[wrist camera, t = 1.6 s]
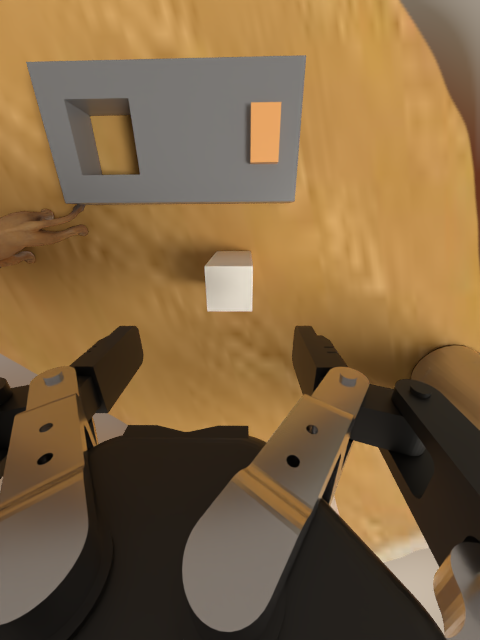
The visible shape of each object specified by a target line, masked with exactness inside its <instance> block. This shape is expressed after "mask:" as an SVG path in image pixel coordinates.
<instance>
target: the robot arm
mask: <svg viewBox="0 0 480 640" xmlns="http://www.w3.org/2000/svg"><path fill="white" fill-rule="evenodd" d="M292 361H293V366H294V369H295V372H296V375H297V378H298V381H299V384H300V387H301V390H302V393H303V396H302V397H301V399H300V400H299V401H298V402H297V404H296V405H295V406H294V408H293V409H292V410H291V412H290V413H289V414H288V416H287V417H286V418H285V419H284V421H283V422H282V423H281V425H280V426H279V427H278V429H277V430H276V431H275V433H274V434H273V435H272V437H271V438H270V439H269V440H268V442H267V443H266V442H264V441H262V440H260V439H257V438H255V437H251V436H248V426H215V427H210V428H205V429H201V430H196V431H191V432H182V431H178V430H174V429H170V428H166V427H162V426H158V425H128V427H127V429H126V430H125V432H124V434H123V436H119V437H115V438H112V439H109V440H107V441H104V442H102V443H100V444H98V438H97V434H96V429H95V424H94V420H93V418H92V416H93V415H94V414H95V413H108V412H109V411H110V409H111V408H112V407H113V405H114V404H115V402H116V401H117V399H118V398H119V396H120V395H121V393H122V392H123V391H124V389H125V388H126V386H127V385H128V383H129V382H130V380H131V379H132V378H133V376H134V375H135V373H136V372H137V370H138V369H139V367H140V366H141V364H142V362H143V349H142V344H141V340H140V335H139V330H138V328H137V327H136V326H119V327H118V328H117V329H116V330H115V331H113V332H112V333H111V334H110V335H109V336H107V337H105V338H103V339H101V340H99V341H98V342H97V343H96V344H94V345H93V346H92V347H91V348H90V349H89V350H87V352H85V353H84V354H83V355H82V356H80V357H79V358H78V359H77V360H76V361H75V362H73V363H72V364H71V365H70V366H63V367H57V368H53V369H50V370H47V371H45V372H43V373H41V374H39V375H38V376H36V377H35V378H34V379H33V380H32V381H31V383H30V385H26V386H21V387H15V388H10V386H9V384H8V382H7V381H6V379H4V378H0V479H1V478H2V476H3V480H2V485H1V491H0V640H480V354H479V353H478V352H476V351H474V350H473V349H471V348H468V347H465V346H458V345H453V346H447V347H443V348H440V349H437V350H435V351H433V352H431V353H430V354H428V355H427V356H425V357H424V358H423V359H422V360H421V361H420V362H419V363H418V364H417V365H416V367H415V368H414V370H413V372H412V376H411V379H402V380H399V381H397V382H396V385H395V388H394V389H390V388H385V387H380V386H375V385H372V384H369V380H368V378H367V377H366V376H365V375H364V374H362V373H361V372H359V371H357V370H355V369H352V368H348V366H347V365H346V363H345V362H344V361H343V359H342V358H341V356H340V355H339V353H337V350H336V349H335V348H334V346H333V344H332V343H331V342H330V340H328V339H327V338H325V337H324V336H317V335H316V333H315V331H314V330H313V328H312V326H296V327H295V331H294V341H293V352H292ZM354 440H355V441H358V442H362V443H365V444H369V445H372V446H376V447H378V448H379V450H380V452H381V454H382V456H383V457H384V459H385V461H386V463H387V465H388V467H389V469H390V471H391V473H392V475H393V477H394V479H395V481H396V483H397V485H398V487H399V489H400V491H401V493H402V495H403V497H404V499H405V501H406V503H407V505H408V506H409V508H410V510H411V512H412V514H413V516H414V518H415V520H416V522H417V524H418V526H419V528H420V530H421V532H422V534H423V536H424V538H425V540H426V542H427V544H428V546H429V548H430V549H431V552H432V554H433V555H434V557H435V559H436V561H437V563H438V565H439V567H440V568H439V569H438V570H437V572H436V573H435V576H434V582H433V585H434V593H435V597H436V600H437V603H438V606H439V608H440V611H441V614H442V618H443V623H444V631H445V635H444V634H443V633H442V631H441V630H440V628H439V627H438V625H437V624H436V623H435V621H434V620H433V618H432V617H431V616H430V614H429V613H428V612H427V611H426V609H425V608H424V607H423V606H422V605H421V603H420V602H419V601H418V600H417V599H416V598H415V597H414V595H413V594H411V592H410V591H409V590H408V589H407V588H406V587H405V586H404V585H403V584H402V583H401V581H400V580H398V578H397V577H396V576H395V575H394V574H393V573H392V572H391V571H390V570H389V569H388V568H387V566H386V565H385V564H384V563H383V562H382V561H381V560H380V559H379V558H378V557H377V556H376V555H375V554H374V552H373V551H372V550H371V549H370V548H369V547H368V546H367V545H366V544H365V543H364V542H363V541H362V540H361V539H360V537H359V536H358V535H357V534H356V533H355V532H354V531H353V530H352V529H351V528H350V527H349V526H348V525H347V523H346V522H345V521H344V520H343V519H342V518H341V517H340V516H339V515H338V514H337V513H336V512H335V511H334V510H333V508H332V507H331V503H332V500H333V497H334V494H335V491H336V488H337V485H338V482H339V479H340V476H341V474H342V471H343V468H344V466H345V463H346V461H347V458H348V455H349V453H350V450H351V448H352V445H353V442H354Z"/></svg>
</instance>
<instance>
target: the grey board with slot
mask: <svg viewBox="0 0 480 640" xmlns="http://www.w3.org/2000/svg"><path fill="white" fill-rule="evenodd" d="M26 63H27V67H28V70H29V74H30V77H31V81H32V85H33V88H34V92H35V95H36V99H37V102H38V106H39V110H40V113H41V117H42V120H43V124H44V128H45V131H46V135H47V138H48V142H49V145H50V149H51V153H52V156H53V160H54V163H55V167H56V171H57V174H58V178H59V181H60V185H61V188H62V192H63V196H64V199H65V203H70V204H84V205H118V204H239V203H290V202H294V201H295V189H296V176H297V164H298V151H299V138H300V126H301V113H302V101H303V88H304V76H305V63H306V56H264V57H221V58H179V59H136V60H93V61H50V62H26ZM102 115H131V119H132V125H133V132H134V138H135V145H136V151H137V158H138V164H139V170H140V175H102V171H101V167H100V162H99V157H98V152H97V148H96V143H95V138H94V134H93V129H92V124H91V119H90V116H102Z"/></svg>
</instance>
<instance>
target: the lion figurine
mask: <svg viewBox="0 0 480 640" xmlns="http://www.w3.org/2000/svg"><path fill="white" fill-rule="evenodd" d="M84 207H85V205H84V204H77V205H76V206H75V207H74V209H73V211H72V212H71V213H70V214H69V215H67V216H65V217H61V218H57V219H53V218H54V214H53V212H52V211H51V210H48V209H43V210H42V211H41V212H28V211H21V212H15V213H10V214H8V215H6V216H4V217H2V218H0V268H1V267H4V266H10V265H14V264H17V263H19V262H21V261H23V260H24V261H26V262H27V263H34V262H35V256H34V255H33V254H32V253H31V252H29V251H22V252H19V251H20V250H22V249H23V248H24V247H26V246H41V245H47V244H53V243H56V242H59V241H62V240H64V239H66V238H68V237H70V236H73V235H77V234H79V235H82V236H85V235H87V234H88V230H87V228H86V227H85V226H84V225H78V226H74V227H70V228H68V229H66V230H64V231H56V232H52V231H46V230H42V228H45V227H50V226H55V225H59V224H62V223H66V222H69V221H70V220H72V219H73V218H75V217H76V216H77V215H78V213H80V212H81V211H83V210H84ZM43 219H44V220H43ZM17 252H19V253H17ZM15 253H17V254H15Z"/></svg>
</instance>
